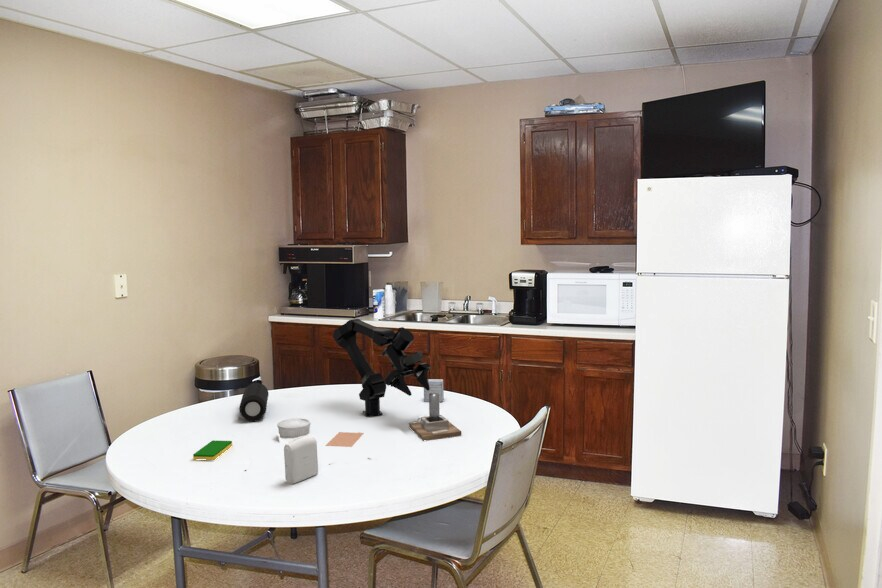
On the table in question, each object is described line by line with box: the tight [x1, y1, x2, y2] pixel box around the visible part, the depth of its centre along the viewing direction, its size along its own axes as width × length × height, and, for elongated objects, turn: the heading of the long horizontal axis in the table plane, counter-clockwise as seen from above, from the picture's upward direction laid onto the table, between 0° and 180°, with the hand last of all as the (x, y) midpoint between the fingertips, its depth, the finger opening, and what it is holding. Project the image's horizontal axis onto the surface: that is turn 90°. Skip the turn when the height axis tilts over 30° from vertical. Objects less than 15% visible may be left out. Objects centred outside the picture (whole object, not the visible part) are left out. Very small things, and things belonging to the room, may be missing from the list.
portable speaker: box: [238, 382, 269, 422], centre depth 261 cm, size 26×10×10 cm, turn 12°
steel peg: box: [428, 393, 441, 422], centre depth 233 cm, size 4×4×12 cm
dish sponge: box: [192, 439, 233, 461], centre depth 217 cm, size 7×14×2 cm, turn 173°
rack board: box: [408, 414, 462, 442], centre depth 234 cm, size 16×14×4 cm
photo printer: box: [283, 434, 319, 485], centre depth 193 cm, size 10×4×12 cm, turn 140°
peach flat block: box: [325, 431, 364, 448], centre depth 223 cm, size 14×9×2 cm, turn 170°
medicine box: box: [423, 378, 445, 403], centre depth 274 cm, size 8×4×9 cm, turn 84°
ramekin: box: [276, 417, 312, 438], centre depth 231 cm, size 11×11×5 cm
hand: (419, 392), depth 237 cm, fingers open, 9 cm apart
